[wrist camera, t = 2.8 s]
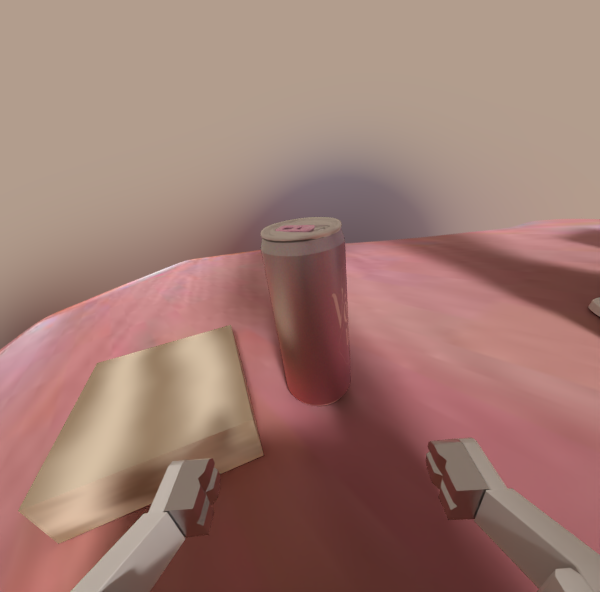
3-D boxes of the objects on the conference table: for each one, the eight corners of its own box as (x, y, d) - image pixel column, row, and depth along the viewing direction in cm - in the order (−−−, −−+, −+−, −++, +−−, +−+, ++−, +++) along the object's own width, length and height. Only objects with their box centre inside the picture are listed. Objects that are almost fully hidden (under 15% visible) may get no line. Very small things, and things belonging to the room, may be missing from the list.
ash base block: (239, 353, 30) (230, 324, 28) (263, 455, 19) (252, 419, 17) (115, 392, 27) (97, 363, 25) (58, 543, 16) (18, 511, 14)
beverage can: (304, 357, 28) (283, 217, 21) (358, 369, 26) (354, 214, 19) (276, 399, 24) (239, 237, 17) (339, 419, 21) (325, 238, 14)
